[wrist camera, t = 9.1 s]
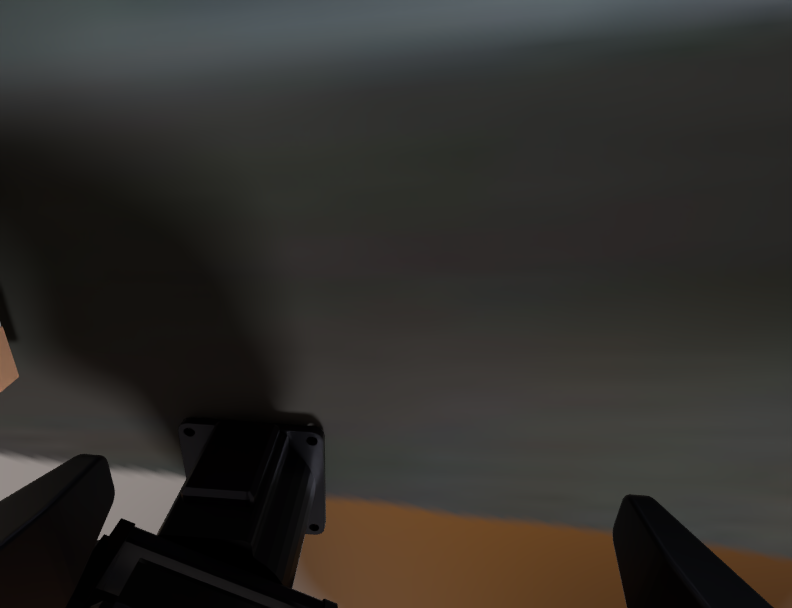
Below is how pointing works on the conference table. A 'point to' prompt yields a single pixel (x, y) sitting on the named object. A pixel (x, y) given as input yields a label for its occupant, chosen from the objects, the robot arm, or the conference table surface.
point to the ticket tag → (6, 362)
